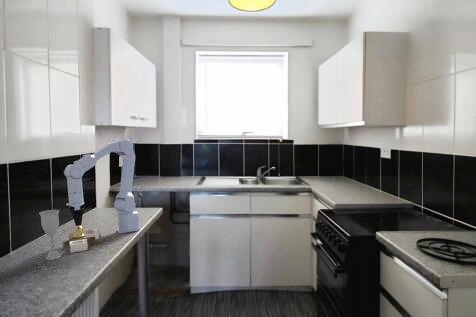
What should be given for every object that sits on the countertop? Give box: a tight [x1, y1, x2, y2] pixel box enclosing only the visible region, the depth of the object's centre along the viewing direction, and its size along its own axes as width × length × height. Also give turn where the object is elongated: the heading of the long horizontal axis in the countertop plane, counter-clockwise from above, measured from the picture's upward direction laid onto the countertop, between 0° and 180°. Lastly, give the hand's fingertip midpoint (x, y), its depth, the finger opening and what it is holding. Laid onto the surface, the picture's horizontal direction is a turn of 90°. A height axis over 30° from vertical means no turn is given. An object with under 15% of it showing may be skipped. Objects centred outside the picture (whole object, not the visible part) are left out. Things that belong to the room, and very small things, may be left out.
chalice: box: [38, 209, 62, 261], centre depth 139 cm, size 7×7×18 cm
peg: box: [73, 225, 85, 238], centre depth 157 cm, size 5×5×7 cm
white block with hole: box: [69, 239, 89, 253], centre depth 149 cm, size 6×6×3 cm
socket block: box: [68, 228, 102, 246], centre depth 160 cm, size 12×13×3 cm
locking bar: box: [85, 227, 99, 239], centre depth 155 cm, size 5×11×2 cm, turn 26°
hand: (78, 223), depth 156 cm, fingers open, 7 cm apart
